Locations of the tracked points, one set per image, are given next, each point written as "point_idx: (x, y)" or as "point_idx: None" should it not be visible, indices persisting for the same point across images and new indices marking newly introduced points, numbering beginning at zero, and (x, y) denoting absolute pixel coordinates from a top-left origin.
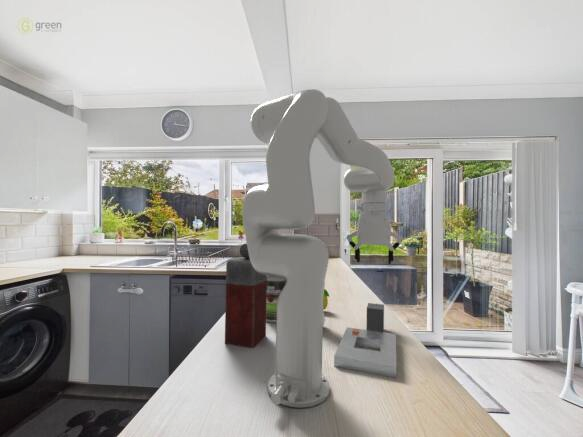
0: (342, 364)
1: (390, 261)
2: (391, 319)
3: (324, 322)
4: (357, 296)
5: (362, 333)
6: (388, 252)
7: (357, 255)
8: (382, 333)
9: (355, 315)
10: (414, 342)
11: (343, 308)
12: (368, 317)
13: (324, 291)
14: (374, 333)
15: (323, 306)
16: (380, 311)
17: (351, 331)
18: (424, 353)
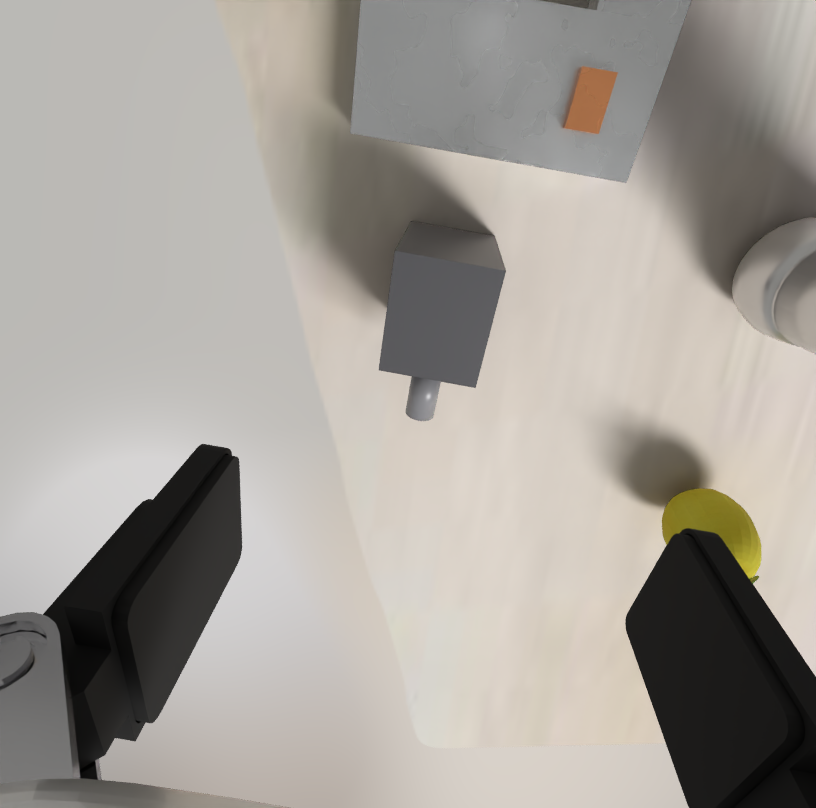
0: None
1: (191, 462)
2: (347, 446)
3: (740, 272)
4: (464, 683)
5: (547, 88)
6: (136, 595)
7: (766, 622)
8: (424, 121)
9: (511, 471)
10: (266, 164)
11: (554, 548)
12: (490, 254)
13: None
14: (472, 108)
15: (691, 497)
16: (415, 250)
17: (612, 109)
18: (227, 9)
